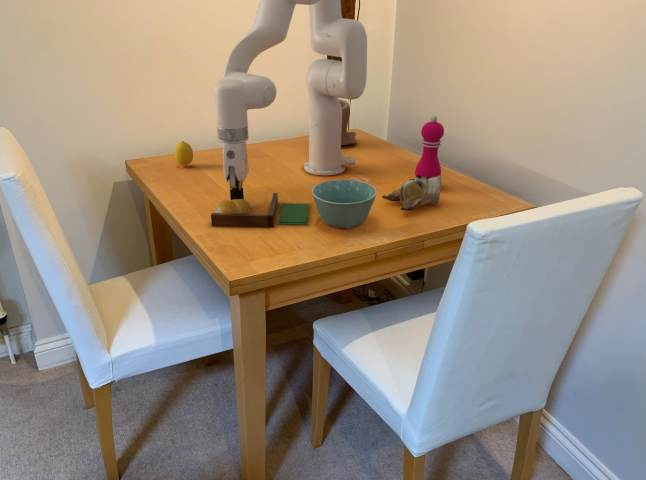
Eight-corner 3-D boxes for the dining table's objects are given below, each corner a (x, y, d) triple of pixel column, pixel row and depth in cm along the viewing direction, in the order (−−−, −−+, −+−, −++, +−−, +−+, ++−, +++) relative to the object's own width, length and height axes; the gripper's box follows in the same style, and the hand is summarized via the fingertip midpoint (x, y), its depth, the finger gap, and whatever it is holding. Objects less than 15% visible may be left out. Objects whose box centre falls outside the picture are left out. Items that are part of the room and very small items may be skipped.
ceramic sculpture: (453, 176, 147) (403, 188, 142) (451, 207, 151) (401, 220, 147) (429, 164, 155) (380, 174, 151) (427, 194, 160) (380, 205, 155)
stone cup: (319, 151, 193) (320, 105, 185) (311, 141, 203) (312, 97, 195) (363, 149, 196) (365, 103, 188) (353, 139, 206) (355, 95, 198)
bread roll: (256, 217, 147) (255, 202, 144) (222, 223, 143) (221, 208, 141) (244, 205, 153) (243, 191, 151) (211, 211, 149) (210, 197, 147)
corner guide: (278, 203, 154) (277, 192, 153) (273, 227, 141) (272, 215, 140) (221, 202, 155) (221, 191, 153) (211, 226, 142) (210, 213, 140)
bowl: (328, 239, 135) (329, 206, 131) (301, 215, 148) (301, 184, 144) (386, 228, 141) (389, 196, 137) (356, 205, 153) (357, 175, 149)
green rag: (308, 204, 154) (308, 202, 153) (306, 225, 142) (306, 223, 142) (282, 204, 154) (282, 202, 154) (278, 224, 143) (278, 222, 142)
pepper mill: (441, 185, 166) (451, 114, 156) (435, 193, 161) (444, 120, 151) (417, 181, 169) (424, 111, 159) (410, 189, 163) (417, 117, 153)
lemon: (192, 169, 177) (189, 144, 173) (174, 169, 177) (171, 143, 173) (195, 164, 182) (193, 138, 178) (178, 163, 182) (175, 138, 178)
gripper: (243, 142, 136) (247, 214, 146) (252, 125, 149) (255, 192, 158) (212, 142, 137) (218, 214, 146) (222, 124, 149) (227, 192, 159)
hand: (237, 202), depth 152 cm, fingers closed
